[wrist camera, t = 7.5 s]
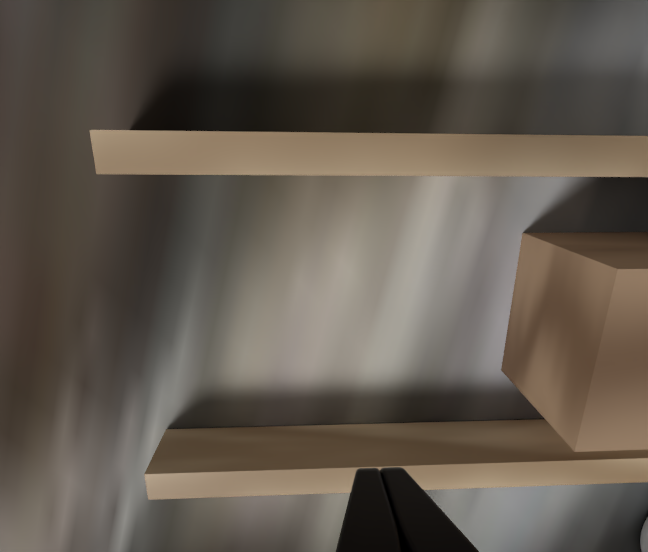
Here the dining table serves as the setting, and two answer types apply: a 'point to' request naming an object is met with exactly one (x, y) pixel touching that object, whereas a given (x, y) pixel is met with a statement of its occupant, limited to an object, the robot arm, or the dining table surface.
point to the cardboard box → (583, 336)
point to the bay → (388, 438)
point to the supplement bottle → (644, 537)
